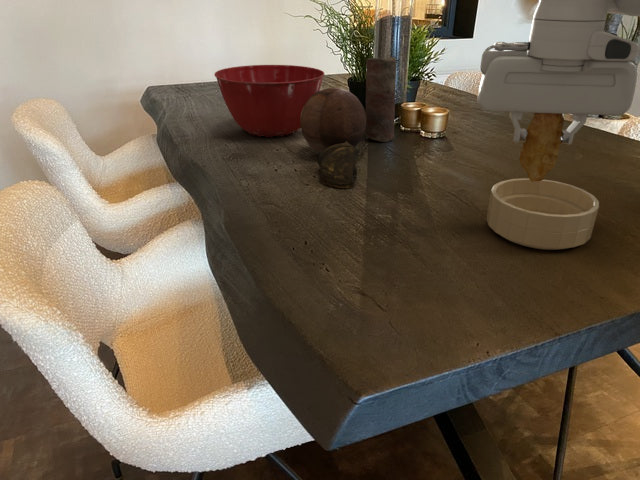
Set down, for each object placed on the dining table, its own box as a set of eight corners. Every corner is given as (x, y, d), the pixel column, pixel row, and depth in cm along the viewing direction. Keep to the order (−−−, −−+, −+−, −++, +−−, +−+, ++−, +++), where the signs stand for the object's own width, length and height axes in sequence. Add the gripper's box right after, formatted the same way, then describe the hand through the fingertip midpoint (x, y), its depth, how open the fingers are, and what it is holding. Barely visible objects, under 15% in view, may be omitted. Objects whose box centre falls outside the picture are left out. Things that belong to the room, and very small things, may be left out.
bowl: (572, 213, 84) (581, 180, 82) (603, 256, 71) (614, 219, 68) (480, 208, 87) (485, 176, 84) (493, 249, 73) (500, 213, 70)
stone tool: (517, 183, 75) (537, 81, 68) (514, 177, 77) (534, 78, 70) (552, 185, 74) (576, 82, 67) (549, 179, 76) (571, 79, 69)
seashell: (366, 187, 95) (358, 153, 91) (321, 197, 96) (312, 164, 93) (361, 159, 109) (354, 129, 106) (322, 167, 110) (314, 138, 107)
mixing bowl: (332, 119, 144) (332, 64, 136) (314, 148, 119) (313, 82, 112) (240, 116, 148) (235, 62, 141) (204, 143, 123) (196, 79, 116)
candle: (359, 140, 124) (362, 57, 115) (369, 133, 130) (372, 54, 121) (388, 144, 121) (393, 59, 112) (397, 137, 127) (402, 55, 118)
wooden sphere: (374, 149, 118) (377, 85, 111) (348, 168, 106) (349, 97, 99) (319, 141, 124) (319, 80, 117) (289, 158, 112) (286, 91, 105)
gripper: (487, 44, 65) (472, 145, 71) (654, 46, 62) (622, 152, 68) (481, 39, 70) (467, 134, 77) (634, 41, 67) (607, 139, 74)
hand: (541, 142), depth 72 cm, fingers closed on stone tool, 5 cm apart
